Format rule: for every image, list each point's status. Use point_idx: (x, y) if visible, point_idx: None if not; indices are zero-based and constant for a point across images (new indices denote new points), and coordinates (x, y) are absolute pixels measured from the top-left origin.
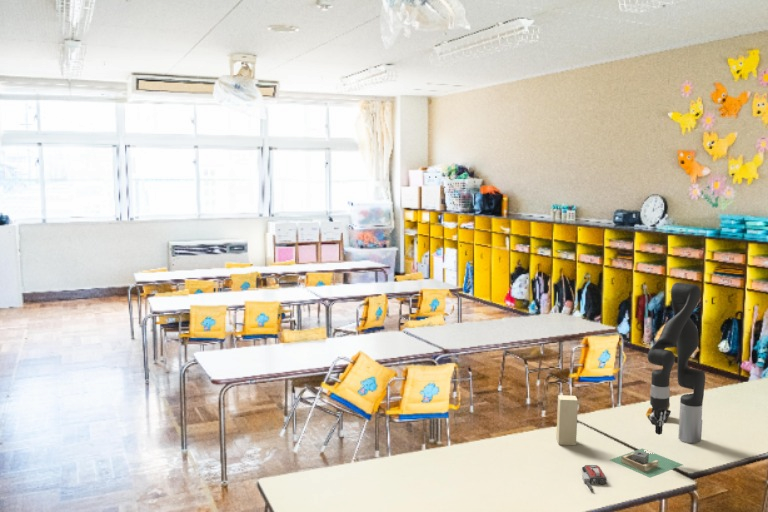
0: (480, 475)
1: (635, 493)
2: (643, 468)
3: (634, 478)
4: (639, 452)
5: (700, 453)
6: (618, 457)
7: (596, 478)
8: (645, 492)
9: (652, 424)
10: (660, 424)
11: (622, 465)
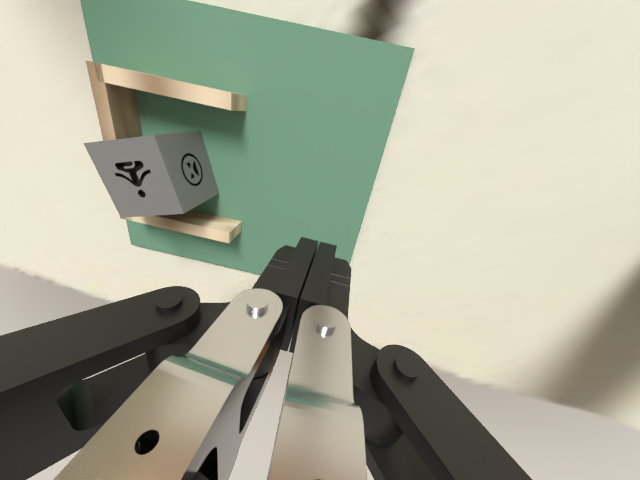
0: None
1: (10, 250)
2: None
3: (76, 201)
4: (146, 163)
5: (526, 306)
6: (156, 4)
7: None
8: (47, 268)
9: (170, 292)
10: (252, 379)
11: None
